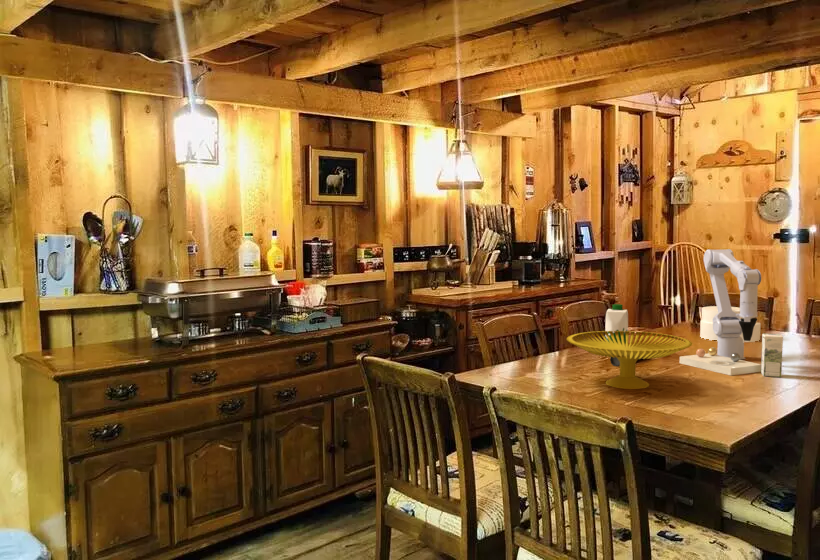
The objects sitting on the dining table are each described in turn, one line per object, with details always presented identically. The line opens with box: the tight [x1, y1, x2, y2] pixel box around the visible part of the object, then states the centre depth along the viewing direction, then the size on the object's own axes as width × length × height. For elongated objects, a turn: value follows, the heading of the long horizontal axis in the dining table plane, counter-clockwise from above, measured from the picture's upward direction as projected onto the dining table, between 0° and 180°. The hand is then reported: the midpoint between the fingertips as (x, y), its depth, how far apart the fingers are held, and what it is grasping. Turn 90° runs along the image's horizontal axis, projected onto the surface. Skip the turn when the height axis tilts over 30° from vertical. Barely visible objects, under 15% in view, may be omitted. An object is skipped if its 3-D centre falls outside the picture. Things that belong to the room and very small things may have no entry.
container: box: [699, 305, 761, 343], centre depth 319 cm, size 20×25×14 cm
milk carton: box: [604, 303, 629, 344], centre depth 287 cm, size 9×9×20 cm
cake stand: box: [566, 330, 693, 390], centre depth 234 cm, size 40×40×15 cm
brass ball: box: [707, 346, 717, 356], centre depth 268 cm, size 3×3×3 cm
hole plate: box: [679, 352, 761, 376], centre depth 259 cm, size 15×24×2 cm, turn 23°
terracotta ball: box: [695, 348, 706, 357], centre depth 266 cm, size 3×3×3 cm
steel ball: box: [731, 353, 741, 362], centre depth 256 cm, size 3×3×3 cm
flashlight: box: [609, 357, 642, 367], centre depth 270 cm, size 5×21×5 cm, turn 131°
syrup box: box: [760, 333, 784, 378], centre depth 244 cm, size 6×6×14 cm
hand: (747, 339), depth 258 cm, fingers open, 7 cm apart
